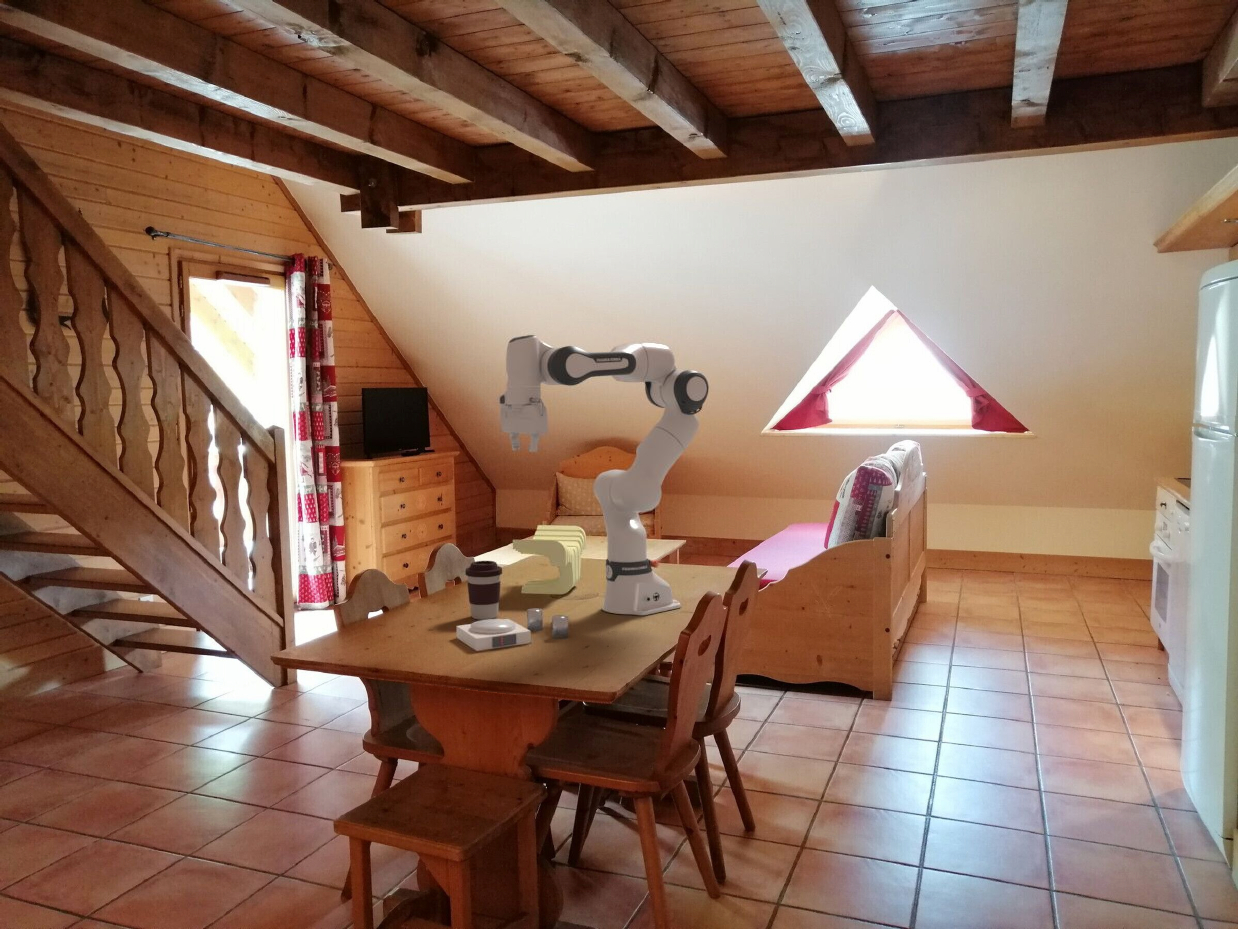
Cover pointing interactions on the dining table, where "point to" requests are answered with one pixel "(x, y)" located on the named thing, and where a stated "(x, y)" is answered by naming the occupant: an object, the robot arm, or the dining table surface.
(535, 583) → the slatted curved stool
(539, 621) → the cylinder
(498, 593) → the coffee cup
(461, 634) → the scale
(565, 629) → the cylinder
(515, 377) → the robot arm
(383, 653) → the dining table surface
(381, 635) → the dining table surface
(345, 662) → the dining table surface
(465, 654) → the dining table surface
